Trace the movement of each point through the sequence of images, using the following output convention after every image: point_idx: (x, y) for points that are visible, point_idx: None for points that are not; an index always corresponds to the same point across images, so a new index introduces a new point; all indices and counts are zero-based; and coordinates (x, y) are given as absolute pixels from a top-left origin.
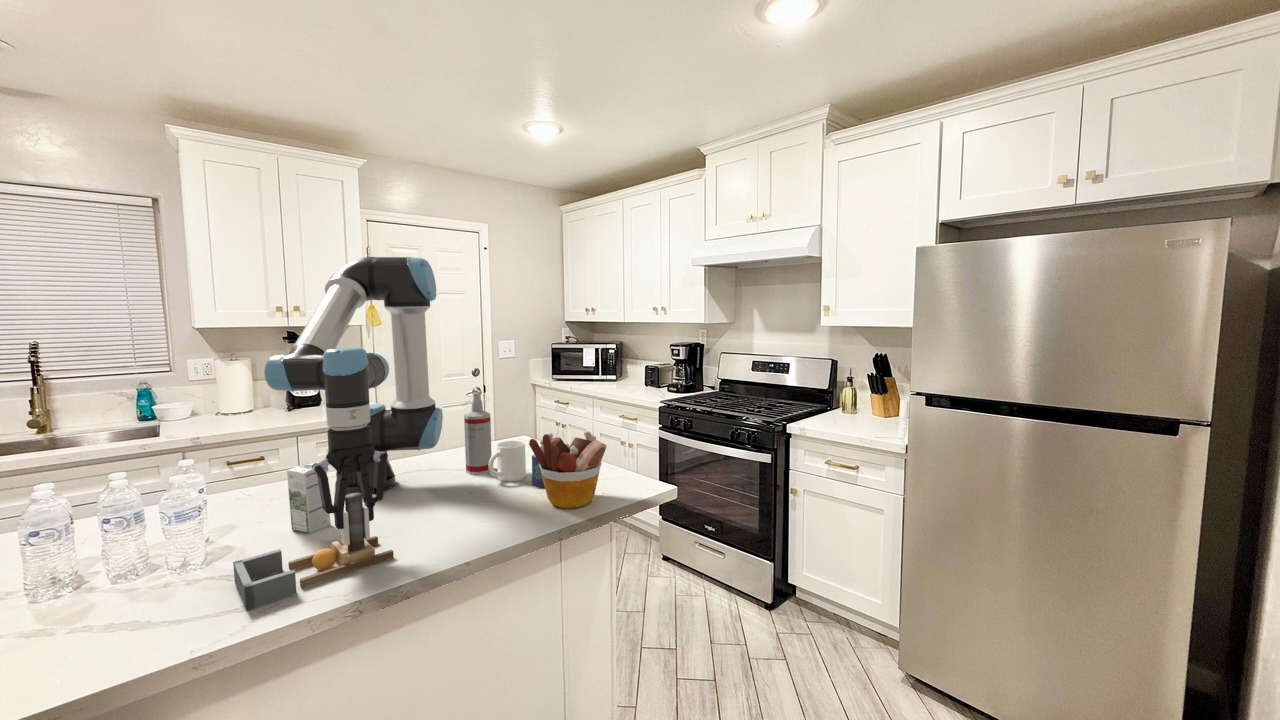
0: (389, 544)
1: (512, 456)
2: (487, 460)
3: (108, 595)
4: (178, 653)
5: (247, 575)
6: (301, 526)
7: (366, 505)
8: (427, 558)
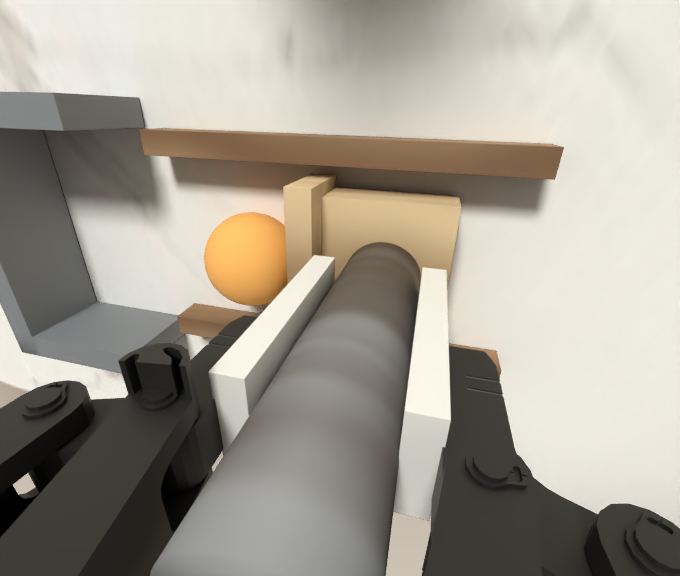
0: (577, 226)
1: None
2: None
3: None
4: (16, 370)
5: (4, 278)
6: None
7: (433, 500)
8: (571, 461)
